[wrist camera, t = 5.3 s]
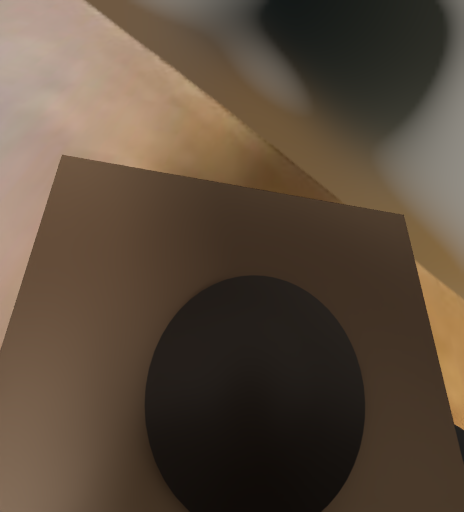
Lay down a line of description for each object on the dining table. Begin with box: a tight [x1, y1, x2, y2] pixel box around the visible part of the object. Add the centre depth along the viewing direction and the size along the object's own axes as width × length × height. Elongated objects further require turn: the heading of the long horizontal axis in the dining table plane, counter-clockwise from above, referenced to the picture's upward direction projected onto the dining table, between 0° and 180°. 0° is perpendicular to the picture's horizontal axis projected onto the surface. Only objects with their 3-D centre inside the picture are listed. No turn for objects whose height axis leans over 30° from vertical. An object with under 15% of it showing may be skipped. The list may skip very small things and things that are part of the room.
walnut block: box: [0, 155, 464, 512], centre depth 8 cm, size 5×5×12 cm
